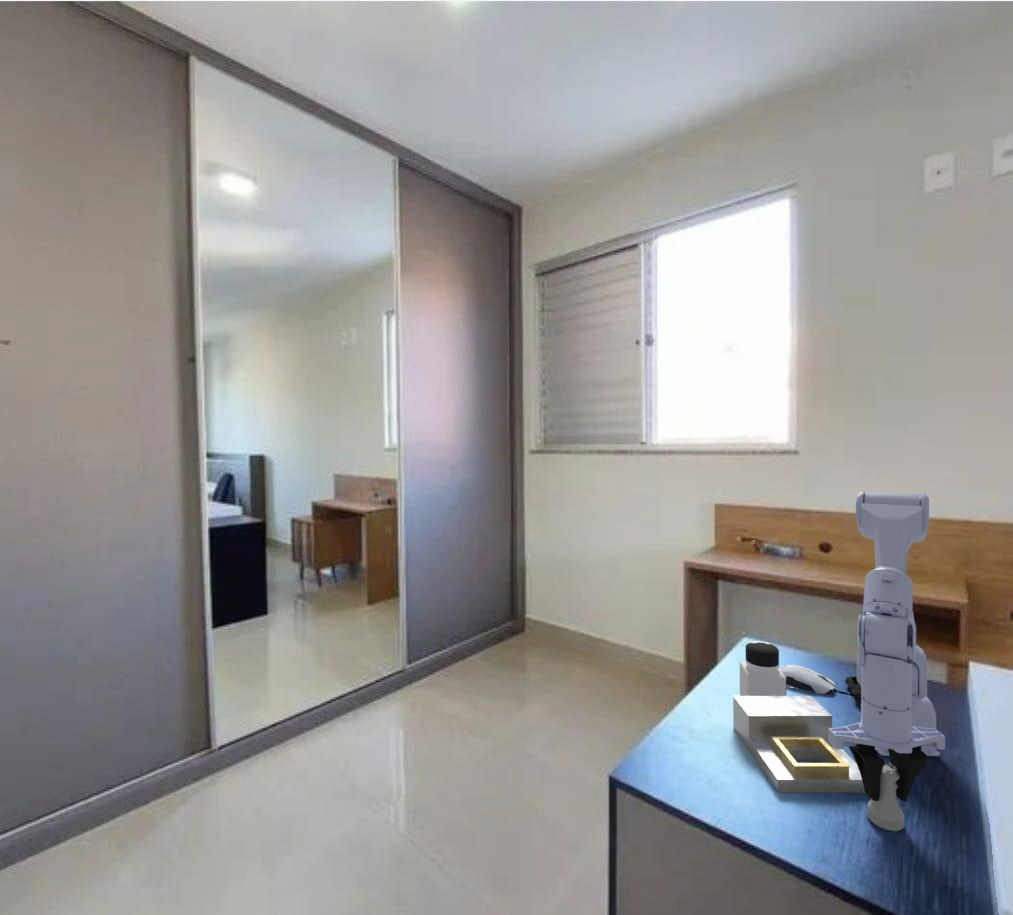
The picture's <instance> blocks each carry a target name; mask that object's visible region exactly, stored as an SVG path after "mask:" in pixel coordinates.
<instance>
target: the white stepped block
mask: <svg viewBox="0 0 1013 915" xmlns="http://www.w3.org/2000/svg"><path fill="white" fill-rule="evenodd" d="M732 698H733V703H732V704H733V705H732V706H733V708H732V710H733V712H732V713H733V714H732V716H733V718H732V719H733V720H732V721H733V729H734V731H735V732H736V734H737V733H738V734H737V735H738V737H739V738H740V739H741V741H742V742H743V744H744V745H745V747H746V749H748V751H749V753H750V754H751V756H752V757H753V758H754V760H755V762H756V763H757V764H758V767H759V766H760V769H761V771H763V773H764V774H765V776H766V778H767V780H768V781H770V783H771V785H772V786H773V788H774V789H775V791H776V792H777V793H805V794H807V793H809V794H810V793H813V794H814V793H818V794H819V793H820V794H821V793H824V794H826V793H827V794H830V793H831V794H832V793H833V794H834V793H835V794H837V793H838V794H842V793H843V794H847V793H848V794H866V793H865V790H864V785H863V781H862V778H861V774H860V771H859V768H858V766H857V763H856V761H855V759H853V758H852V757H851V756H850V755H849V754H848V753H847V752H846V751H845V750H844V748H843V749H836V748H835V747H834V746H832V745H831V743H830V742H829V741H828V728H833V715H832V714H831V713H830V712H829V711H828V710H826V709H825V708H824V707H823V705H821V704H820V703H819V702H818V701H817V700H816V699H815V698H814V697H813V696H812V695H786V696H741V695H733V696H732ZM799 760H800V761H801V760H802V761H803V760H804V761H806V760H809V761H810V760H811V761H817V760H818V761H819V762H797V761H799Z"/></svg>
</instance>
